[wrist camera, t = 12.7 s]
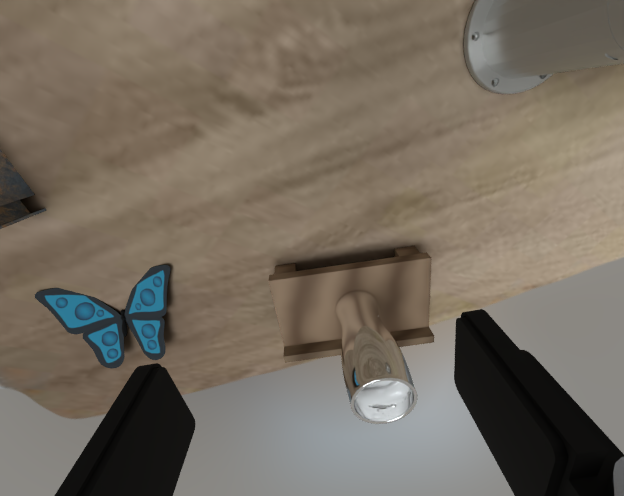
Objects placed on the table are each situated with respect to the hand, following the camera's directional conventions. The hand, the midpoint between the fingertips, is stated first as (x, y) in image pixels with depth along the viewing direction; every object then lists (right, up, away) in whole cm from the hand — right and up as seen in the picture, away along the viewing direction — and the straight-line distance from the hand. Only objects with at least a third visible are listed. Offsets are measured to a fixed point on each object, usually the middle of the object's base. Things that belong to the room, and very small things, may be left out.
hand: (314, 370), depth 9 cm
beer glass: (+6, -5, +33) cm, 34 cm away
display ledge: (+6, -3, +37) cm, 38 cm away
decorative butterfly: (-30, -6, +38) cm, 48 cm away
